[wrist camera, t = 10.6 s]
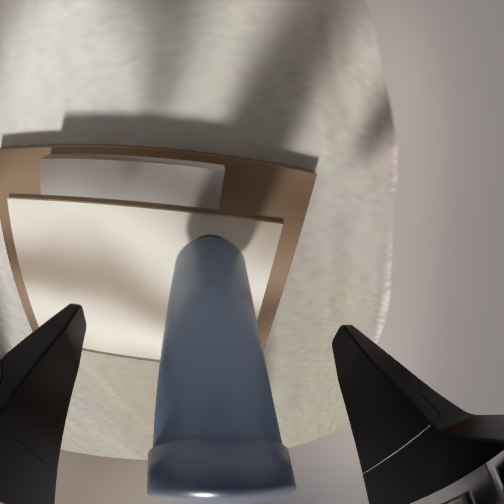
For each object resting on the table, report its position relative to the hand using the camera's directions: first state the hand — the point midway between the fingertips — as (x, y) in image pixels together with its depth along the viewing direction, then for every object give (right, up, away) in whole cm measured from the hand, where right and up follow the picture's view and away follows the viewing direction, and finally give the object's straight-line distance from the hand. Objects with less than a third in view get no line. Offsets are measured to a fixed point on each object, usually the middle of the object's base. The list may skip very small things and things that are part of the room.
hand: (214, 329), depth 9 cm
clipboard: (-5, +1, +5) cm, 7 cm away
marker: (-1, +2, +4) cm, 5 cm away
